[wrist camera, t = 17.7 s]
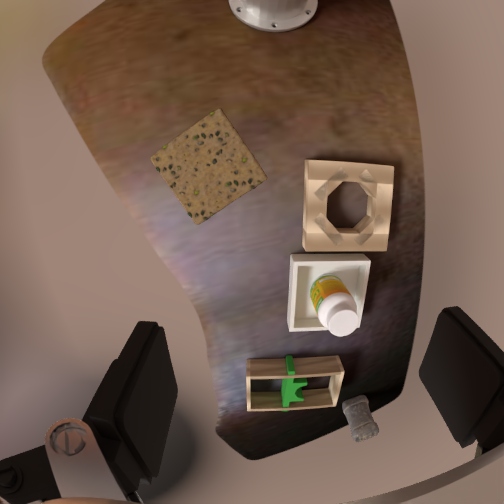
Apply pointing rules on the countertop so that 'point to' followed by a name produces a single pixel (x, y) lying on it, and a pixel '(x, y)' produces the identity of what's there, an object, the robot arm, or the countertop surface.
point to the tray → (313, 266)
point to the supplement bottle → (334, 305)
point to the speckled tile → (208, 166)
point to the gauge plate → (369, 228)
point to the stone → (360, 418)
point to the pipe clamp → (292, 385)
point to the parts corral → (302, 369)
